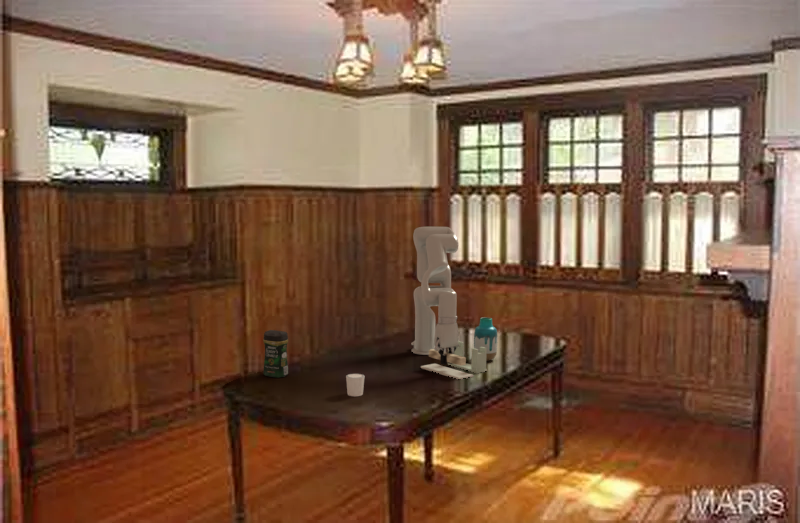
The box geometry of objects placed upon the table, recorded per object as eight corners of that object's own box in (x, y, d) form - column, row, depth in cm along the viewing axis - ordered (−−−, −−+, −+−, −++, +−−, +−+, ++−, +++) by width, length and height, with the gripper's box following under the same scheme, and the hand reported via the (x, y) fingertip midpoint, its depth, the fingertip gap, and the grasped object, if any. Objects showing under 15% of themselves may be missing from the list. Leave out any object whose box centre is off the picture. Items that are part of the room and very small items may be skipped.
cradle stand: (447, 365, 301) (448, 342, 301) (457, 363, 305) (458, 340, 304) (476, 373, 287) (477, 349, 286) (487, 371, 291) (487, 348, 290)
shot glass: (345, 391, 259) (345, 373, 258) (364, 391, 259) (364, 373, 259) (346, 396, 252) (346, 378, 251) (364, 396, 252) (364, 377, 252)
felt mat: (420, 367, 296) (420, 366, 296) (434, 365, 301) (434, 363, 301) (458, 379, 277) (459, 377, 277) (473, 376, 282) (473, 374, 282)
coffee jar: (260, 376, 279) (259, 331, 278) (271, 372, 286) (271, 327, 285) (280, 379, 275) (280, 333, 274) (291, 374, 282) (291, 330, 281)
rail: (428, 356, 295) (428, 349, 295) (433, 355, 297) (433, 349, 297) (460, 365, 280) (460, 358, 279) (465, 364, 281) (465, 357, 281)
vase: (496, 363, 305) (497, 320, 303) (472, 362, 307) (473, 319, 306) (497, 358, 316) (498, 316, 314) (474, 356, 318) (475, 315, 316)
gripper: (455, 317, 295) (454, 359, 296) (426, 320, 285) (425, 364, 286) (467, 319, 289) (466, 362, 290) (438, 323, 279) (437, 368, 280)
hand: (446, 363), depth 288 cm, fingers closed on rail, 2 cm apart
